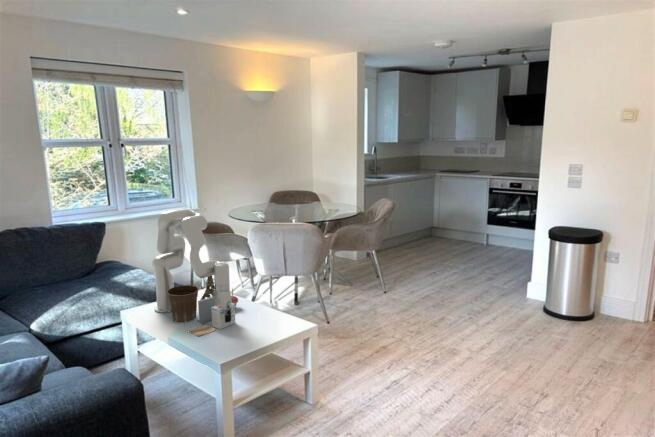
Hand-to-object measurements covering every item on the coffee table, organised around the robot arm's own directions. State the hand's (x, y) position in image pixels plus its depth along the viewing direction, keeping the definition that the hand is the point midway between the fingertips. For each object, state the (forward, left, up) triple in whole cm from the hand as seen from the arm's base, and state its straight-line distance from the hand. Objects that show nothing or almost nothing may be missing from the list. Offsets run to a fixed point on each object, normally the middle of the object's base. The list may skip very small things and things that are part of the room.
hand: (223, 319), depth 236 cm
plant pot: (-23, -9, -3) cm, 25 cm away
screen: (-12, 0, -3) cm, 12 cm away
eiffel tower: (-40, +19, -3) cm, 44 cm away
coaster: (-2, -12, -3) cm, 13 cm away
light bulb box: (0, 0, -3) cm, 3 cm away
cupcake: (-17, +17, -3) cm, 24 cm away
